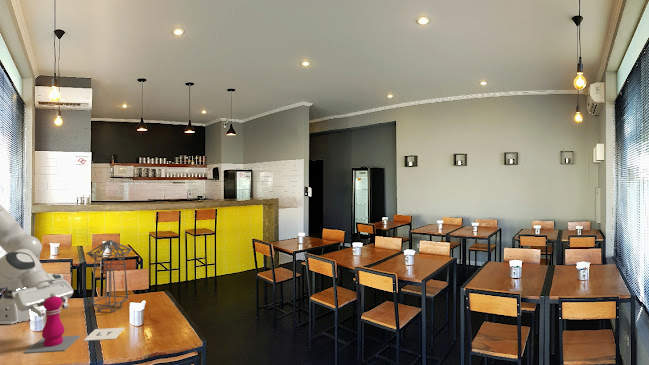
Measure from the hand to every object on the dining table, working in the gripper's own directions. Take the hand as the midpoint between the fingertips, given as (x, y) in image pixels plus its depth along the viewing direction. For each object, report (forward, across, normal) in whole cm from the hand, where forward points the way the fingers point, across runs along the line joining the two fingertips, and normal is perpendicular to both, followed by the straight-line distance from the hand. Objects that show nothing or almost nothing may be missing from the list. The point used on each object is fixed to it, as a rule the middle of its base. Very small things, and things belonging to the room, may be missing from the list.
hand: (54, 311), depth 155 cm
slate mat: (+9, 0, +10) cm, 13 cm away
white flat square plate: (+16, +15, +3) cm, 22 cm away
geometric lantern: (-1, +38, +20) cm, 43 cm away
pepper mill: (+9, 0, +10) cm, 13 cm away
